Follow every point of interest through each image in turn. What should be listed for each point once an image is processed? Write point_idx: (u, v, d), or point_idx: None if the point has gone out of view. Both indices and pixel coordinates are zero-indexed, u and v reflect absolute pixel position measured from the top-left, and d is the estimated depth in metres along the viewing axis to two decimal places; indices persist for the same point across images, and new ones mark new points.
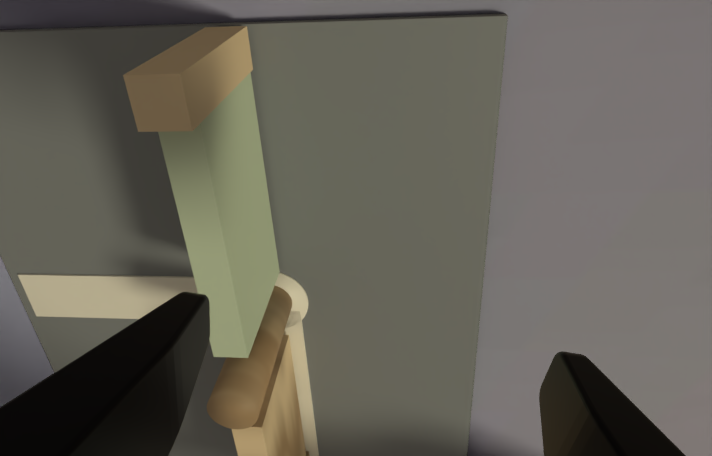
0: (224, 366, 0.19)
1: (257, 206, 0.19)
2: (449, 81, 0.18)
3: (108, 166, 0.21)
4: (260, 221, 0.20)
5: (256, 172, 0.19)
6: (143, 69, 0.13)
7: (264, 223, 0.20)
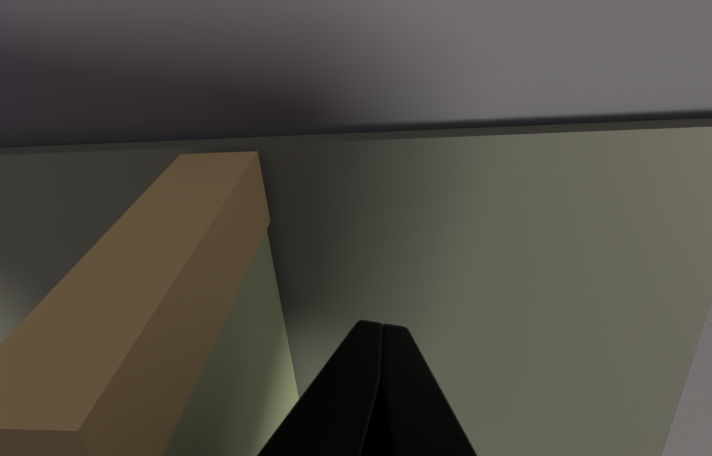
0: None
1: None
2: (631, 234, 0.10)
3: None
4: None
5: (280, 390, 0.11)
6: None
7: None
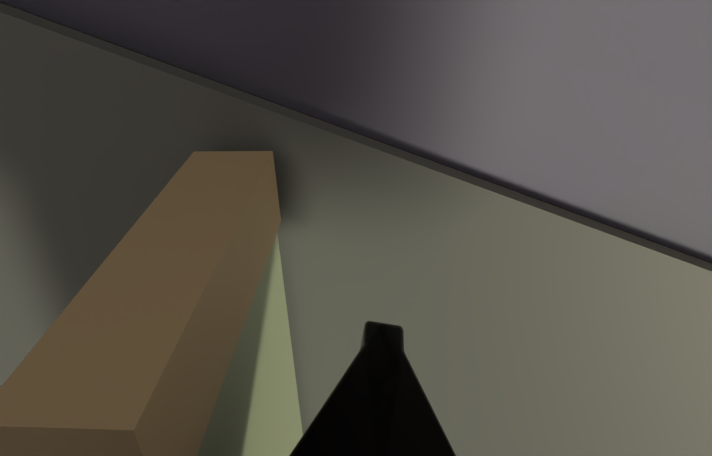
0: None
1: (285, 445, 0.11)
2: None
3: None
4: None
5: (284, 389, 0.11)
6: (35, 383, 0.05)
7: None
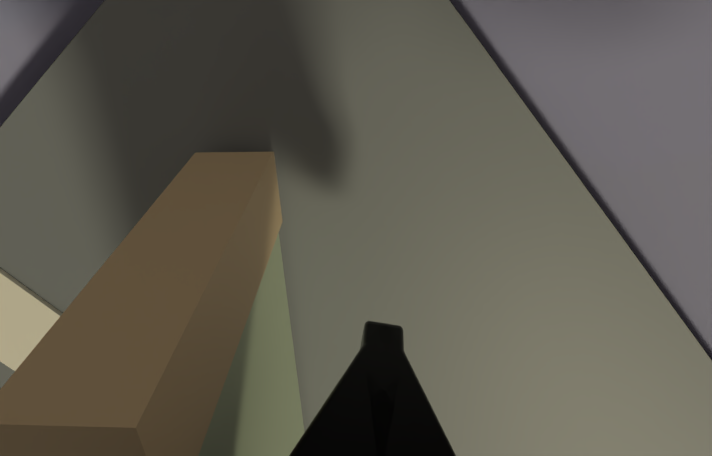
0: None
1: (288, 445, 0.11)
2: None
3: (328, 282, 0.11)
4: None
5: (286, 390, 0.11)
6: (37, 381, 0.05)
7: None
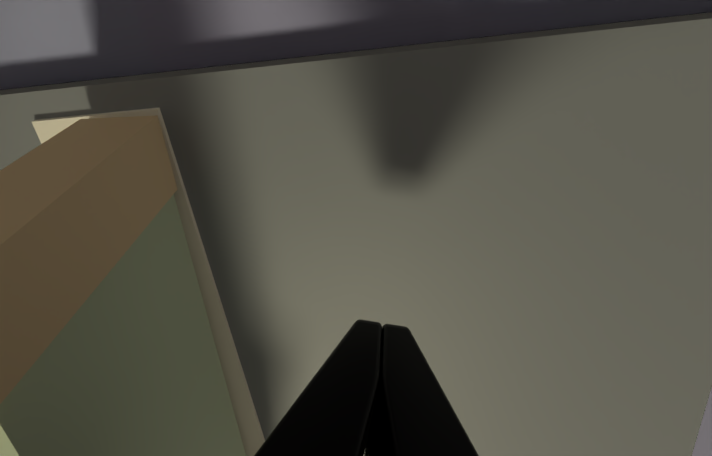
0: None
1: (198, 420, 0.11)
2: None
3: (470, 346, 0.12)
4: (207, 439, 0.11)
5: (194, 363, 0.11)
6: None
7: (215, 433, 0.12)
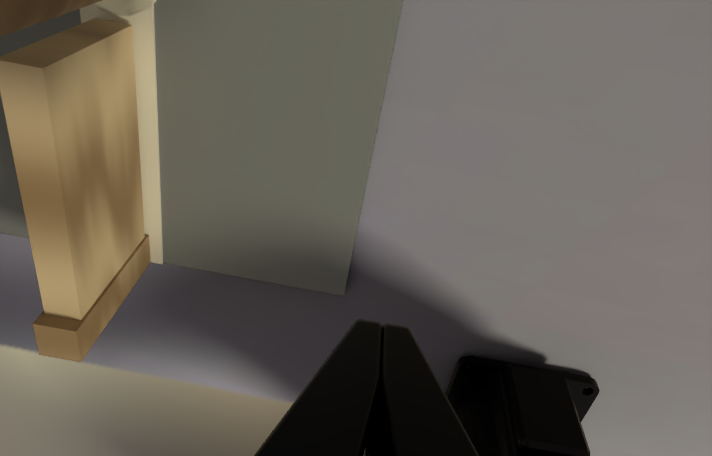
0: None
1: None
2: None
3: None
4: None
5: None
6: None
7: None
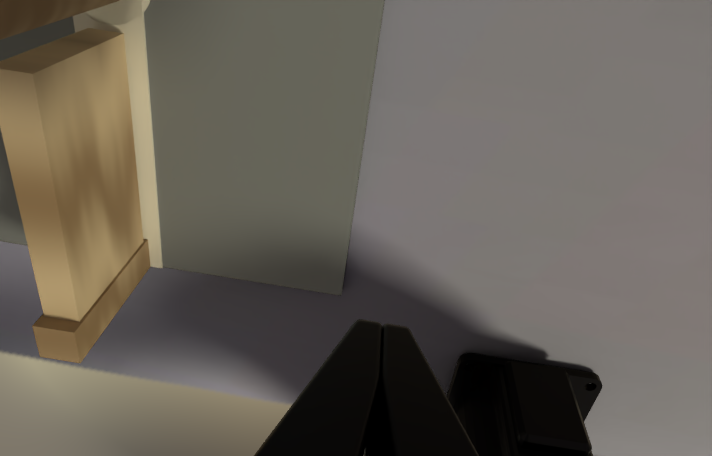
0: None
1: None
2: None
3: None
4: None
5: None
6: None
7: None
